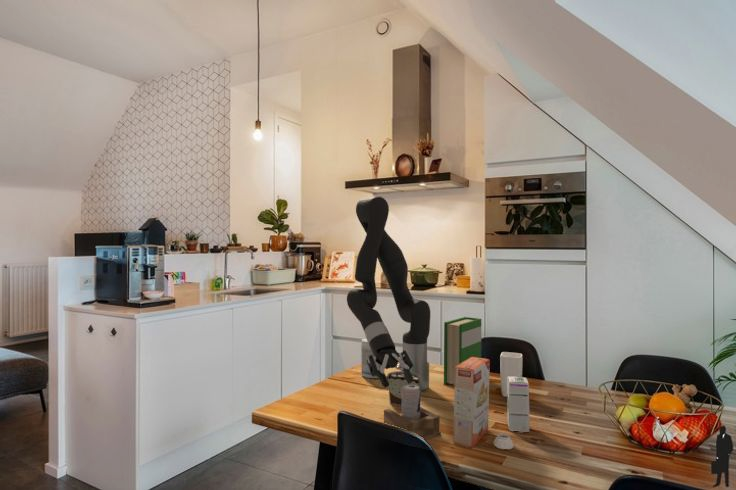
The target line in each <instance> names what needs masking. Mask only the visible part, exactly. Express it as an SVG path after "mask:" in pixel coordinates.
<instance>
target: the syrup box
mask: <svg viewBox="0 0 736 490" xmlns="http://www.w3.org/2000/svg"><path fill="white" fill-rule="evenodd" d="M529 392H530V383H529V381H528V378H527V377H524V376H522V377H516V376H512V377H507V397H506V399H507V400H506V401H507V402H506V403H507V405H506V407H507V408H506V412H507V413H506V414H507V415H506V419H507V420H506V423H507V426H508V427H509V428H508V431H509V430H510V431H509V432H513V431H522V432H521V433H523V432H529V433H530V393H529Z"/></svg>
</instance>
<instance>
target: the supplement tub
mask: <svg viewBox="0 0 736 490" xmlns="http://www.w3.org/2000/svg"><path fill="white" fill-rule="evenodd" d="M360 346H361V349H360V351H361V353H360V354H361V356H360V357H361V359H360V361H361V364H360V366H361V367H360V368H361V371H360V373H361V376H362V377H364V378H367V379H379V377H377V376H374V377H373V376H372V375H371V372H370V369H369V367H368V364H367V359H368V357H369V356H370V355H372V356H373V357H374V355H373V353H372V351H371V348H370V346H369V344H368V341H367V339H366V337H365V338H362V339H361V345H360ZM375 364H376V367H377V369H379V365H380V364H378V363H377V362H376V361H375Z"/></svg>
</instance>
